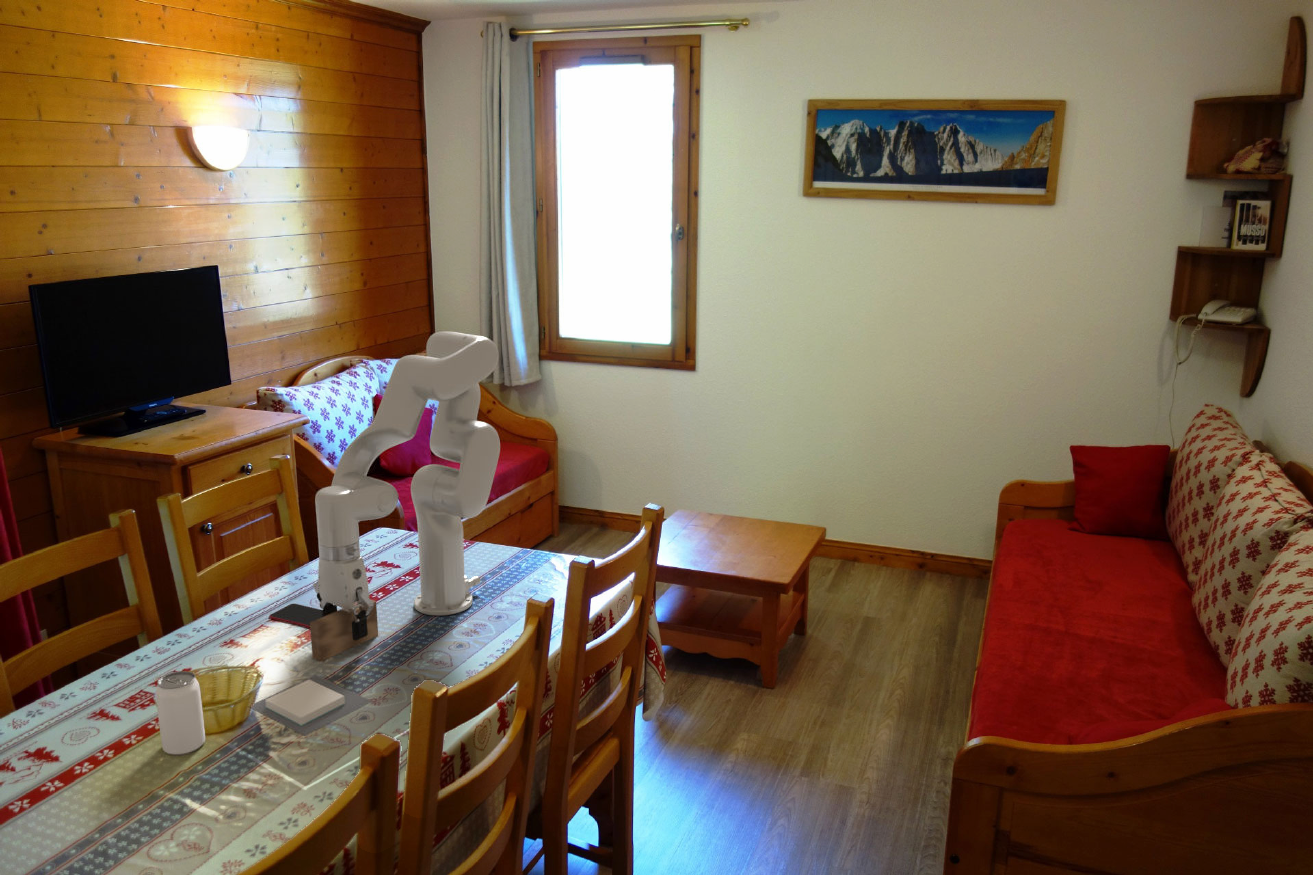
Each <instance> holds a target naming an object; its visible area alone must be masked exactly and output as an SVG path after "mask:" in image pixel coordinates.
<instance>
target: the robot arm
mask: <svg viewBox="0 0 1313 875" xmlns="http://www.w3.org/2000/svg"><path fill="white" fill-rule="evenodd" d="M425 350H426V356H425V355H420V354H419V355H418V354H410V355H409V354H408V355H404V356H402V357H401V358H399V359H398V360H397V362H396V363H395V365H394V367H393V369H392V373H391V374H390V377H389V380H388V381H387V382H388V383H387V384H386V388H385V390H384V393H383V396H382V398H381V401H380V403H379V407H378V409H377V412H376V414H375V417H374V419H373V421H372V423H371V424H370V425H369V426H367V428H365V429H364V430H363V431H361V432H360V433H359V435H357V437H356V438H354V439H353V441H351V443H350V444H349V445H348V446H347V447H346V449H345V450H344V452H343V454H342V455H341V457H340V459H339V461H338V465H337V467H336V469H335V472H334V475H333V477H332V482H331V485H330V486H326V487H322V488H321V489H319V490H318V491H317V492H316V493H315V499H314V500H315V501H314V502H315V513H316V526H317V528H316V529H317V538H318V540H317V542H318V553H319V554H318V555H319V558H318V566H317V567H318V570H317V571H318V572H317V573H318V577H317V578H318V579H317V581H316V582H315V583H313V585H312V586H313V589H314V591H315V593H316V598H317V600H318V602H319V609H321V610H322V617H324V616H327V615H329V614H332V613H334V612H336V611H338V607H339V608H341V609H347V610H349V611H350V613H351V616H352V618H353V620H354V621H352V636H353V640H355V641H357V640H359V639H361V638H363V637H365V636H367V635H368V630H367V618H368V617H369V615H370V614H371V610H372V608H373V606H374V604H373V602H372V601H371V600H372V599H371V600H370V592H369V584H368V582H369V581H368V576H367V570H366V566H365V562H364V559H363V556H361V546H360V530H359V523H360V522H361V521H368V520H369V521H371V520H377V519H382V518H385V517H388V516H389V515H390V514H391V513H393V512H394V511H395V509H396V508H397V505H398V502H399V493H398V491H397V489H396V488H395V487H394V486H393V485H392V484H391V483H389V482H387V481H384V480H382V479H378V478H374V477H371V476H367V474H368V472H369V470H370V467H371V466H372V464H373V463H374V462H375V460H376V459H377V458H378V457H379V456H380V455H381V454H382V453H383V452H385V451H386V450H388V449H390V448H393V447H395V446H397V445H399V444H403V443H405V442H407V441H410V440H412V439H413V438H414V437H415V435H416V434H417V430H418V428H419V425H420V422H421V419H422V416H423V414H424V411H425V408H426V407H427V404H428V401H429V400H430V401H435V402H438V404H437V405H438V406H437V407H436V408H437V409H436V412H435V416H434V417H435V418H434V420H433V425H432V429H431V433H430V438H429V448H430V451H431V452H432V453H433V454H434V455H435V456H436V457H439V458H441V459H444V460H446V461H450V462H454V463H458V464H460V466H459V468H455V467H450V466H447V465H446V466H445V465H443V464H436V463H435V464H428V465H424V466H422V467H420V468H419V469H418V470H417V471H416V472H415V473H414V475H413V477H412V480H411V484H410V494H411V499H412V504H413V506H414V511H415V516H416V521H417V522H416V524H417V543H418V562H419V583H420V584H419V585H420V593H419V594H418V595H417V596H416V597H415V598H414V600H413V606H414V609H415V610H416V611H418V613H421V614H424V615H428V616H437V617H438V616H449V615H450V616H451V615H454V614H458V613H461V612H463V611H465V610H467V609H469V608H470V607H471V606H472V604H473V601H474V600H473V595H472V594H471V592H469V591H470V590H471V589H472V587H475V586H477V585H479V584H481V579H480V577H479V576H478V575H475V576H473V577H470V578H468V577H467V576H466V575H465V554H464V553H465V552H464V550H465V549H464V526H463V522H462V518H463V519H472V518H475V517H477V516H479V514H481V513H482V512H483V511H484V509H485V507H486V505H487V503H488V500H489V498H490V494H491V489H492V486H493V482H494V477H495V474H496V471H497V466H498V461H499V458H500V454H501V442H500V437H499V434H498V431H497V429H495V427H494V426H492V425H491V424H489V423H487V422H485V421H480V420H478V414H479V409H480V404H481V398H482V397H481V394H482V393H481V388H480V384H479V383H480V382H482V381H483V380H485V379H487V377H489V376H491V374H492V373H493V372H494V370H495V369H496V367H497V365H498V363H499V356H500V355H499V350H498V347H497V345H496V344H495V342H494V341H493V340H491V339H490V338H488V337H486V336H483V335H475V334H467V333H464V332H463V333H462V332H456V331H444V330H443V331H437V332H434V333H433V334H431V335H430V336H429V338H428V339H427V342H426V349H425ZM356 603H358V604H356ZM353 604H356V605H354V606H353ZM356 608H359V609H360V612H359V614H357V612H356V610H355V609H356Z"/></svg>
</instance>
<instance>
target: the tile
mask: <svg viewBox="0 0 1313 875" xmlns="http://www.w3.org/2000/svg"><path fill="white" fill-rule="evenodd" d="M301 682H302V681H301ZM299 683H300V682H299ZM286 689H287V688H286ZM273 695H274V694H273ZM265 702H266V708H267V709H269V710H271V711H273V712H275V713H277V714H279V715H281V716H283V717H285V718H287V719H289V720H291V721H292V722H294V723H296V724H298V725H300V726H303V725H305V724H307V723H309V722H311V721H313V720H315V719H317V718H319V717H321V716H323V715H325V714H326V713H328V712H330V711H332V710H334V709H336V708H338V707H340V706H342V705H344V704H345V697H344V696H343V695H341V694H339V693H337V692H335V691H333V690H330V689H328V688H326V687H324V686H322V685H320V684H318V683H316V682H313V681H311V680H307V681H305V682H302V683H300V684H298V685H296V686H294V687H292V688H290V689H287V690H285V691H283V692H281V693H279V694H277V695H274V696H272V697H270V698H268V699H266V700H265Z"/></svg>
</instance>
